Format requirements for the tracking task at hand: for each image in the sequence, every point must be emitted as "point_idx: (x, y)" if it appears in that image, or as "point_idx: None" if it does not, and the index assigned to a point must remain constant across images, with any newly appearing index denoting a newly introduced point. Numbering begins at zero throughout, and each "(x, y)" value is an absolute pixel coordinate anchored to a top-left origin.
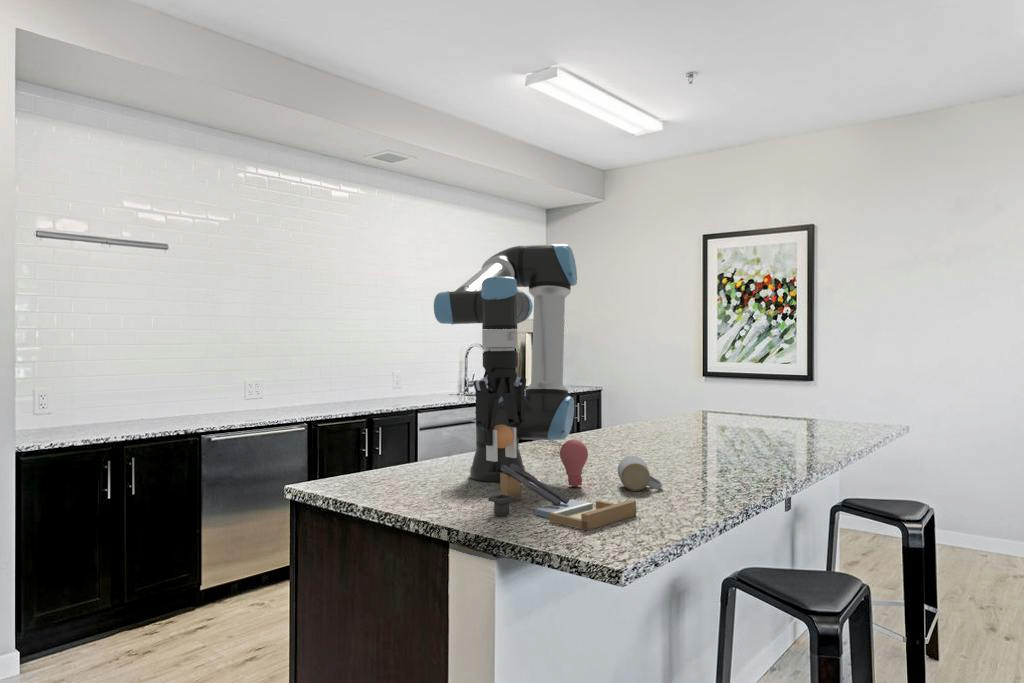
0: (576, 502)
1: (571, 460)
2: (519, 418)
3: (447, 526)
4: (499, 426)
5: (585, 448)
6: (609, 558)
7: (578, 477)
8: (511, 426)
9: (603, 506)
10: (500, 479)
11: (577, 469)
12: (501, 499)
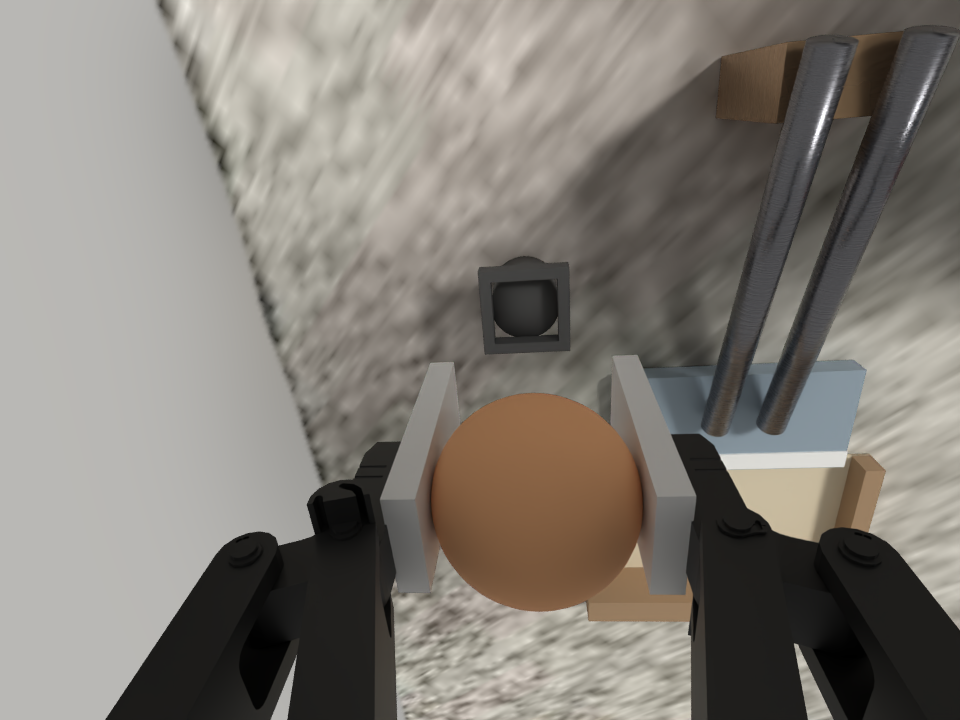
0: (827, 414)
1: None
2: (810, 646)
3: (265, 276)
4: (489, 587)
5: None
6: (448, 704)
7: None
8: (689, 549)
9: (849, 493)
10: (767, 50)
11: None
12: (492, 347)
